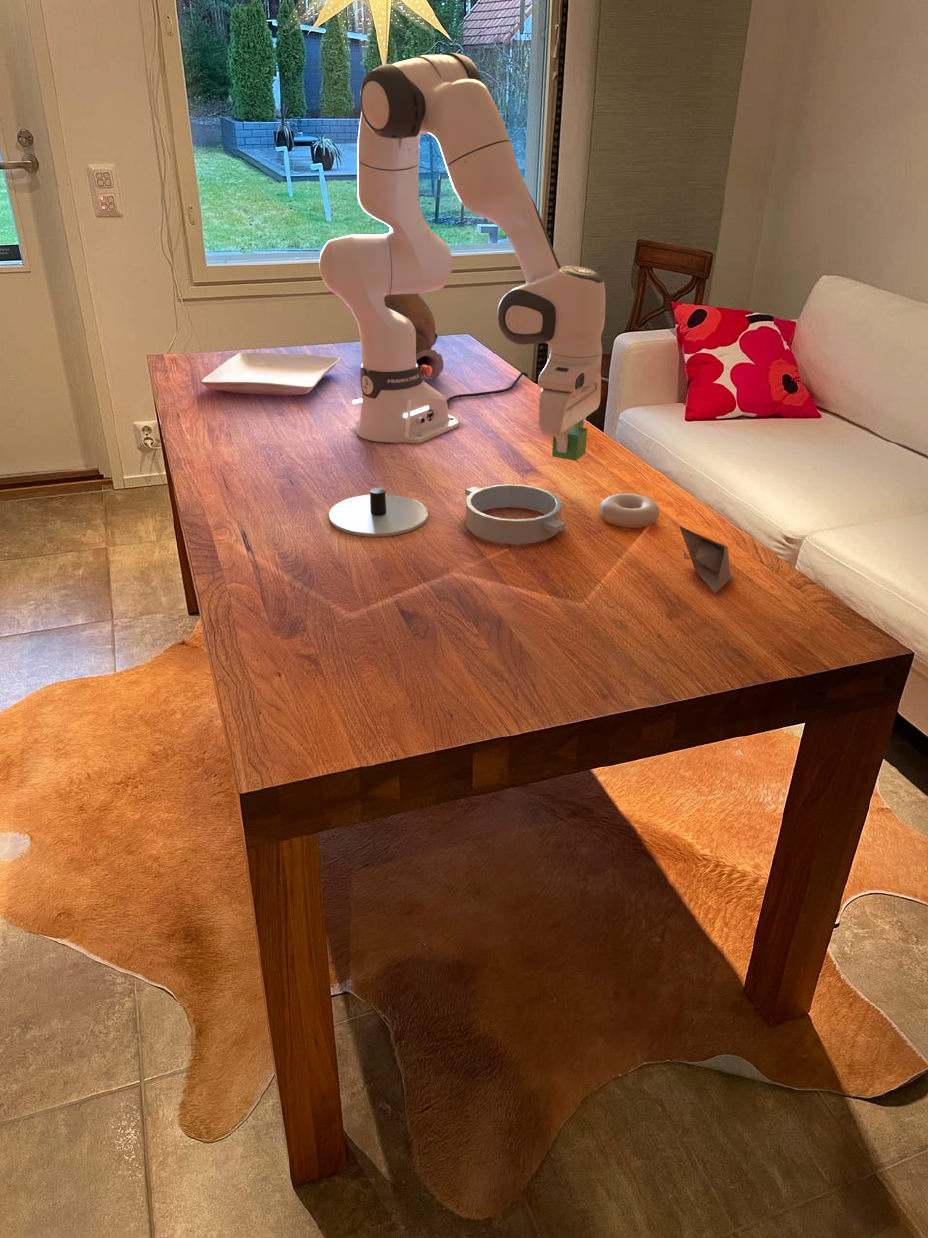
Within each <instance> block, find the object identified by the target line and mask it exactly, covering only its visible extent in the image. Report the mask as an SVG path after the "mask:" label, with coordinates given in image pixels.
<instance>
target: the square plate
mask: <svg viewBox="0 0 928 1238" xmlns="http://www.w3.org/2000/svg"><path fill="white" fill-rule="evenodd" d="M340 361H341V357H339V356H328V355H327V356H326V355H319V354H318V355H317V354H305V353H304V354H303V353H287V352H237V353H236V354H234V356H232V357H231V358H229V359H228V360H226V361H225V362H224V363H222V364H221V365H219V366H218V367H217V368H215V369H214V370H213V371H211V372H210V373H208V374H207V375H206V376H204V377H203V378H202V379H201V380H200V384H202V385H203V386H205V387H207V388H208V389H211V390H214V391H225V392H228V393H236V394H251V395H272V396H300V395H307V394H308V393H310V392H311V391H312V390H313V389H314V388H315V387H316V386H317V384H318V383H319V382H320V380H322V379H323V378H324V377H325V376H326V375H327V374H329V373H330V372H331V371H332V370H333V369H334V367H335V366H336V365H337V363H339V362H340Z"/></svg>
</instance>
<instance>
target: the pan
mask: <svg viewBox="0 0 928 1238" xmlns="http://www.w3.org/2000/svg"><path fill="white" fill-rule="evenodd" d="M464 491H465V492H464V495H465V496H467V497H466V499H465V527H466V529H467V530H468V531H469V532H471V534H473V535H475V536H476V537H479V538H481V539H483V540H486V541H490V542H493V543H498V544H510V545H511V544H512V545H528V544H534V543H535V544H536V543H539V542H543V541H546V540H548V539H551V538H552V537H554V536H555V535H557V534H558V533H559V532H561V531H564V530H566V525H567V524H566V522H563V521H561V520H562V506H563V505H562V502H561V499H560V497H558V496H557V495H556V494H554V492H552V491H549V490H546V489H545V488H542V487H538V486H532V485H527V484H516V483H515V484H514V483H503V484H492V485H488V486H483V487H478V486H476V485H474V486H471V487H468V488H465V490H464ZM498 508H499V509H501V508H518V509H519V508H521V509H526V510H532V511H536V512H539V513H541V514H543V515H539V516H536V517H532V518H531V517H530V518H529V517H528V518H519V519H517V518H504V517H503V518H502V517H498V516H493V515H489V514H486V513H484V511H488V510H493V509H498Z"/></svg>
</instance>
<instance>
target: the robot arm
mask: <svg viewBox="0 0 928 1238" xmlns="http://www.w3.org/2000/svg"><path fill="white" fill-rule="evenodd" d="M359 103H360V109H361V112H360V119H359V126H358V136H357V163H356V164H357V201H358V203H359V205H360V207H361V208H362V210H363V211H364V212H365V213H367V214H368V215H369V216H370V217H372V218H373V219H375V220H377V221H379V222H382V223H383V224H385V225H387V227H389V232H388V233H384V234H349V235H345V236H341V237H338V238H334V239H330V240H328V241H327V242H326V243H325V245H324V246H323V248H322V250H321V252H320V256H319V260H318V261H319V263H318V265H319V268H318V269H319V273H320V276H321V279H322V281H323V283H324V285H325V286H326V288H327V289H328V290H329V291H331V292H332V293H333V294H335V296H337V297H338V298H340V299H341V301H343V302H344V304H345V305H346V306H347V307H348V308H349V310H350V312H351V313H352V315H353V318H354V320H355V321H356V325H357V328H358V333H359V340H360V350H361V364H360V366H359V378H360V380H359V381H360V387H361V388H360V389H361V392H362V394H361V395H362V396H361V398H358V399H353V400H352V404H353V405H355V404H359V403H361V407H360V414H359V415H360V416H359V421H358V426H357V429H356V434H357V435H358V436H359V437H361V438H362V439H364V440H367V441H371V442H378V443H405V444H406V443H407V444H421V443H424V442H425V441H428V440H430V439H433V438H436V437H438V436H440V435H443V434H445V433H447V432H450V431H452V430H454V429H457V428H459V427H460V421H459V420H458V418H457V417H455V416H453V415H451V414H449V409H450V402H451V401H453V400H455V399H459V398H470V397H480V396H481V397H482V396H487V395H495V394H502V393H505V392H510V391H511V390H513V388H514V387H515V385H516V384H517V383H518V382H519V381H520V379H521V378H522V376H523V375H524V377H529V375H528V372H526V371H521V372H520V373H519V374H518V375H517V377H516V378H515V379H514V380H513V381H512V383H511V385H510V386H508V387H506V388H503V389H496V390H490V391H489V390H488V391H481V392H473V393H472V392H471V393H462V394H461V393H460V394H455V395H451V396H450V397H448V398H447V399H446V397H445V396H444V395H443V394H441V392H440V391H438V390H436V389H435V388H434V387H432V386H431V385H430V384H429V383H427V382H426V381H425V380H424V378H423V377H424V376H425V375H427V376H430V375H431V374H430V373H432V371H433V370H432V368H431V366H427V365H425V364H424V365H422V366H420V365H419V364H417V363H416V331H415V328H414V325H413V324H412V322H411V321H410V320H409V319H408V318H406V317H405V316H403V315H401V314H399V313H397V312H395V311H393V310H391V309H389V308H387V307H386V306H385V302H384V297H385V296H387V295H398V294H420V295H421V294H425V293H429V292H433V291H434V292H435V291H438V290H441V289H442V290H443V288H444V287H445V286H446V285H447V283H448V282H449V280H450V278H451V275H452V272H453V257H452V252H451V250H450V248H449V246H448V244H447V243H446V241H444V240H443V239H442V238H441V237H440V236H439V235H438V234H437V233H436V232H434V231H433V230H432V229H431V227H430V226H429V225H428V223H427V221H426V219H425V217H424V215H423V212H422V209H421V203H420V187H419V186H420V183H419V182H420V181H419V180H420V179H419V178H420V177H419V175H420V174H419V172H420V142H421V135H426V134H427V135H428V134H429V135H431V136H432V137H433V138H435V140H436V142H437V143H438V144H437V145H438V146H439V148H440V152H441V155H442V158H443V162H444V164H445V169H446V171H447V174H448V176H449V177H448V178H449V181H450V183H451V185H452V188H453V190H454V192H455V194H456V195H457V198H458V199H459V201H460V202H461V204H462V206H463V207H464V208H465V209H466V210H468V211H469V212H470V213H472V214H474V215H476V216H479V217H482V218H484V219H486V220H488V221H490V222H491V223H493V224H495V225H496V226H497V227H498V228H499V229H500V230H502V231H503V232H504V234H505V235H506V237H507V239H508V240H509V242H510V245H511V247H512V249H513V251H514V254H515V256H516V259H517V261H518V264H519V266H520V269H521V270H522V273H523V276H524V279H525V284H522V285H520V286H516V287H514V288H513V289H511V290H510V291H508V292H506V293H505V294H504V295H503V296H502V297H501V299H500V301H499V303H498V306H497V313H496V318H497V325H498V326H499V330H500V331H501V334H502V335H503V336H504V337H505V338H506V339H507V340H508V341H510V342H511V343H513V344H516V345H523V346H528V345H529V346H531V345H537V344H538V345H539V344H547V345H548V346H549V358H548V359H547V362H546V364H545V366H544V368H543V369H542V371H541V372H540V374H539V375H538V379H537V387H538V388H541V391H540V393H539V398H538V399H539V401H538V428H539V430H540V433H541V434H542V435H545V436H549V437H553V436H555V437H556V441H557V451H558V452H562V453H565V452H566V451H568V450H569V442H570V441H568V436H567V434H569V429H570V428H572V427H573V426H574V427H580V428H585V425H586V421H587V417H589V416H590V415H591V414H592V413H594V412H595V411H597V410H598V409H599V407H600V404H601V396H602V395H601V394H602V374H601V370H602V356H603V346H602V334H603V331H604V329H605V324H606V303H607V302H606V300H607V299H606V285H605V281H604V278H603V277H602V276H601V274H599V273H598V272H597V271H595V270H593V269H591V268H588V267H584V266H580V265H578V266H577V265H564V266H561V264H560V263H559V261H558V258H557V255H556V253H555V250H554V248H553V245H552V243H551V240H550V238H549V235H548V232H547V230H546V228H545V225H544V222H543V220H542V217H541V215H540V212H539V211H538V208H537V205H536V203H535V201H534V199H533V197H532V195H531V193H530V190H529V189H528V187H527V184H526V182H525V180H524V177H523V175H522V172H521V169H520V166H519V163H518V161H517V158H516V155H515V152H514V149H513V145H512V142H511V139H510V135H509V134H508V130H507V128H506V126H505V123H504V120H503V118H502V115H501V113H500V111H499V109H498V106H497V105H496V103H495V100H494V99H493V97H492V95H491V93H490V91H489V89H488V87H487V86H486V85H485V84H484V83H482V78H481V74H480V72H479V70H478V67H477V65H476V64H475V63H474V61H473V60H472V59H470V57H468V56H466V55H463V54H460V53H455V52H445V53H441V54H422V55H417V56H413V57H412V58H408V59H405V60H400V61H398V62H395V63H392V64H391V63H385V64H383V65H379V66H378V67H376V68H374V69H372V70H371V71H370V72H368V73H367V74H366V75H365V76H364V78H363V80H362V83H361V86H360V94H359ZM423 374H425V375H424V376H423Z"/></svg>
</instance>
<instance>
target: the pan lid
mask: <svg viewBox="0 0 928 1238" xmlns="http://www.w3.org/2000/svg"><path fill="white" fill-rule="evenodd" d="M428 516H429V513H428V509H427V507H426V506H425V505H424V504H423V503H422V502H420V501H419V500H416V499H413V498H411V497H407V496H403V495H397V494H389V493H387V492H386V489H385V488H383V487H373V488H371V489H370V490H369V494H363V495H359V496H353V497H350V498H347V499H344V500H342V501H339V502H338V503H336V504H335V505H333V507H331V509H330V510H329V512H328V520H329V522H330V524H331V525H332V526H333V527H334V528H335V529H338V530H339V531H341V532H344V533H347V534H350V535H354V536H359V537H371V538H376V537H377V538H378V537H379V538H380V537H381V538H382V537H393V536H398V535H403V534H407V533H409V532H412V531H415V530H417V529H419V528H420V527H422V526H423V525H424V524H425V523H426V522H427V520H428V518H429V517H428Z"/></svg>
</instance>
